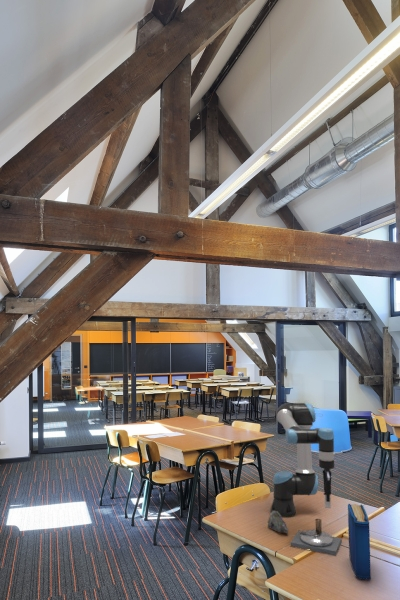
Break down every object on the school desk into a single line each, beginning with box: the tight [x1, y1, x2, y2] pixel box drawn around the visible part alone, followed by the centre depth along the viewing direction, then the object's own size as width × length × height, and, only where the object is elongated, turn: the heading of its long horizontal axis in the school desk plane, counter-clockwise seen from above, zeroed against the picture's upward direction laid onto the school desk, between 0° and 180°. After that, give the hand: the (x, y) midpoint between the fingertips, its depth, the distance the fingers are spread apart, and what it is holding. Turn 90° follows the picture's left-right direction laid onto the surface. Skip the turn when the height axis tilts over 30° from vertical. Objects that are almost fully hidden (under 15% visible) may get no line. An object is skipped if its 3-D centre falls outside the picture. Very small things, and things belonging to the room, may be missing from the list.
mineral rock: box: [267, 511, 289, 534], centre depth 239 cm, size 13×11×10 cm
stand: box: [290, 530, 343, 557], centre depth 222 cm, size 17×22×2 cm
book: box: [347, 503, 372, 580], centre depth 198 cm, size 22×7×25 cm, turn 168°
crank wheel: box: [300, 518, 334, 547], centre depth 223 cm, size 16×16×8 cm
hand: (327, 507), depth 223 cm, fingers closed
